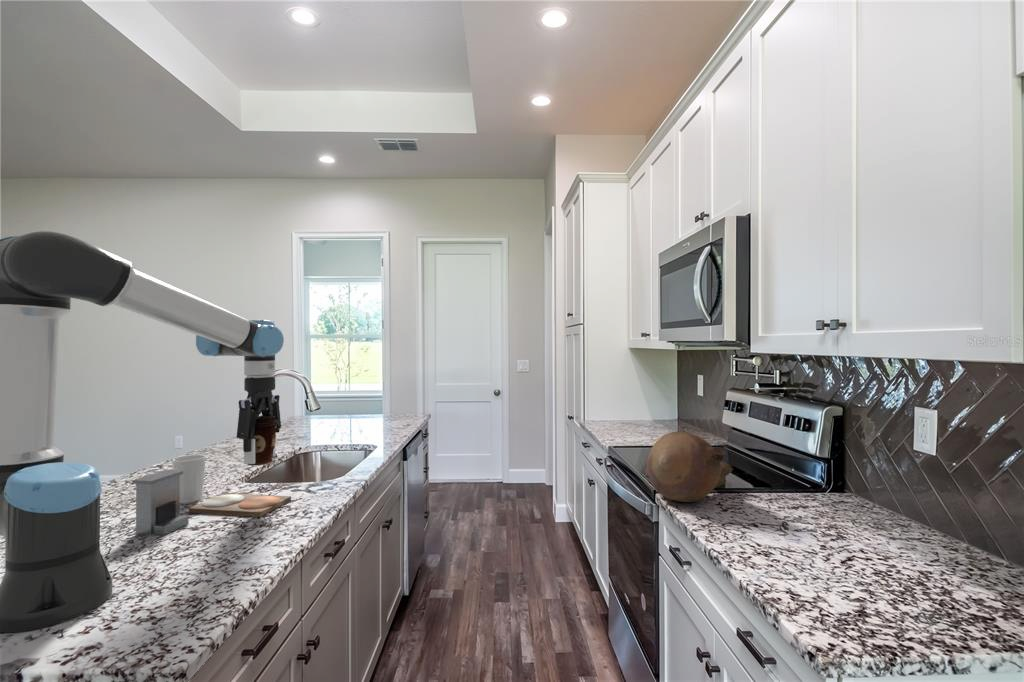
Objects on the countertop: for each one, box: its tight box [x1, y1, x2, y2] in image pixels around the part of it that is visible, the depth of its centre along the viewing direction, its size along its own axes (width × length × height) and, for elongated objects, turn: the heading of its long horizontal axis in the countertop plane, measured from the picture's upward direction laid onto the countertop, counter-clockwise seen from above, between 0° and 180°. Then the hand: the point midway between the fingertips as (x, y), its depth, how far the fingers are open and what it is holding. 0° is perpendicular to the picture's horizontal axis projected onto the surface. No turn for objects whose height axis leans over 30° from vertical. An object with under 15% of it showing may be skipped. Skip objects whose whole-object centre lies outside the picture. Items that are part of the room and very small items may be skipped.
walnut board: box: [187, 492, 292, 518], centre depth 131 cm, size 13×21×2 cm, turn 81°
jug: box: [643, 430, 734, 503], centre depth 139 cm, size 20×20×30 cm
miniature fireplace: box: [132, 469, 190, 536], centre depth 116 cm, size 9×8×13 cm
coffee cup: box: [246, 415, 278, 467], centre depth 131 cm, size 9×8×13 cm
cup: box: [172, 454, 207, 504], centre depth 137 cm, size 8×8×12 cm
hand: (260, 459), depth 131 cm, fingers closed on coffee cup, 8 cm apart
